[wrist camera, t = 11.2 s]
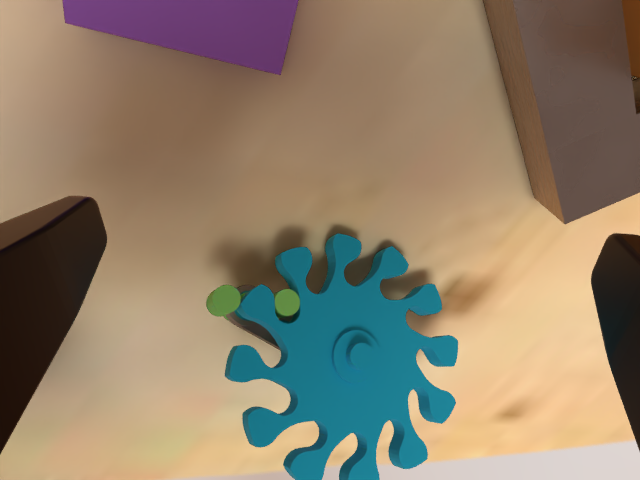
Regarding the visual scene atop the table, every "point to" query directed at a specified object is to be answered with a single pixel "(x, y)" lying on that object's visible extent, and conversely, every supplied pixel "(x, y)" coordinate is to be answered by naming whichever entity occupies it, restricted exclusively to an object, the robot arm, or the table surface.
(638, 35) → the tall orange pillar
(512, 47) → the slotted square tile
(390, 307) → the gear
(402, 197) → the table surface
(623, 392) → the robot arm
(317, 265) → the table surface
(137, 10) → the bracket
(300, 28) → the table surface
